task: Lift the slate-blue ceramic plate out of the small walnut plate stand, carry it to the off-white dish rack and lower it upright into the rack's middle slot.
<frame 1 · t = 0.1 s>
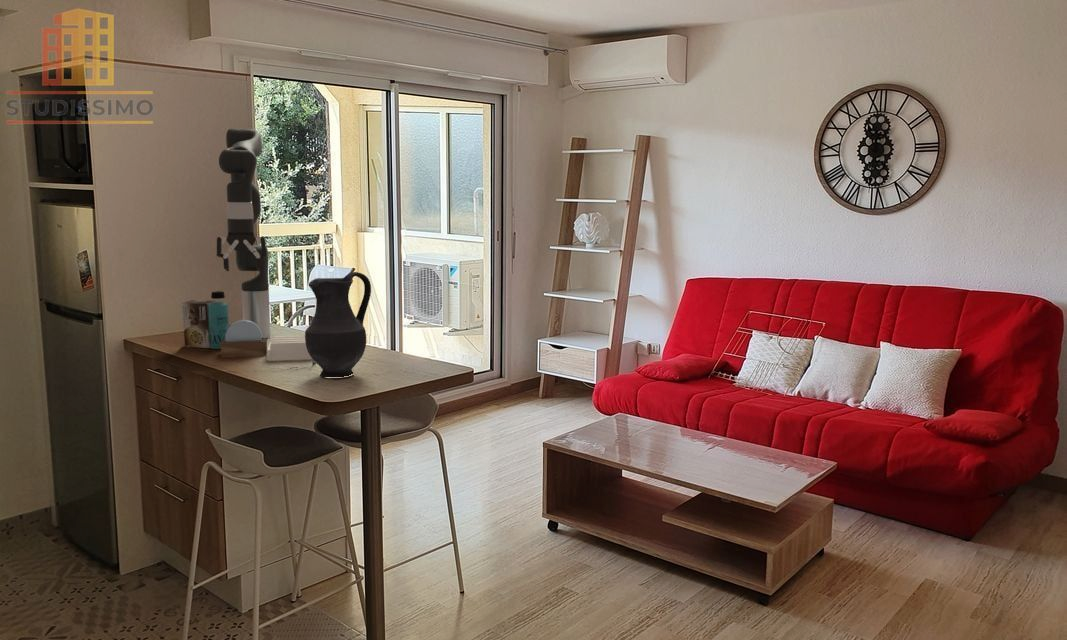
hand: (242, 270, 254), 29 cm above the breakfast bar, tool pointing down, fingers open, 8 cm apart
coffee box: (201, 349, 280), on the breakfast bar
plate: (244, 354, 267), point 1 cm above the breakfast bar, touching stand
stand: (244, 357, 267), on the breakfast bar
pitcher: (342, 375, 246), on the breakfast bar
rack: (292, 359, 266), on the breakfast bar
beverage bottle: (220, 351, 276), on the breakfast bar
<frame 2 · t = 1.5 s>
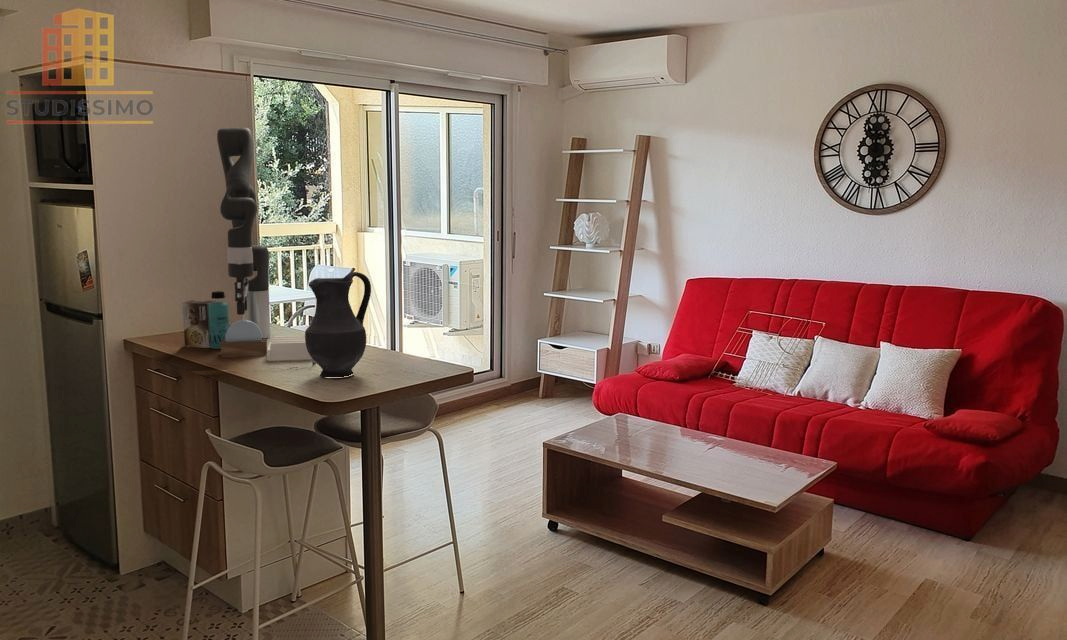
hand: (242, 312, 264), 15 cm above the breakfast bar, tool pointing down, fingers open, 8 cm apart
nothing on the breakfast bar moved.
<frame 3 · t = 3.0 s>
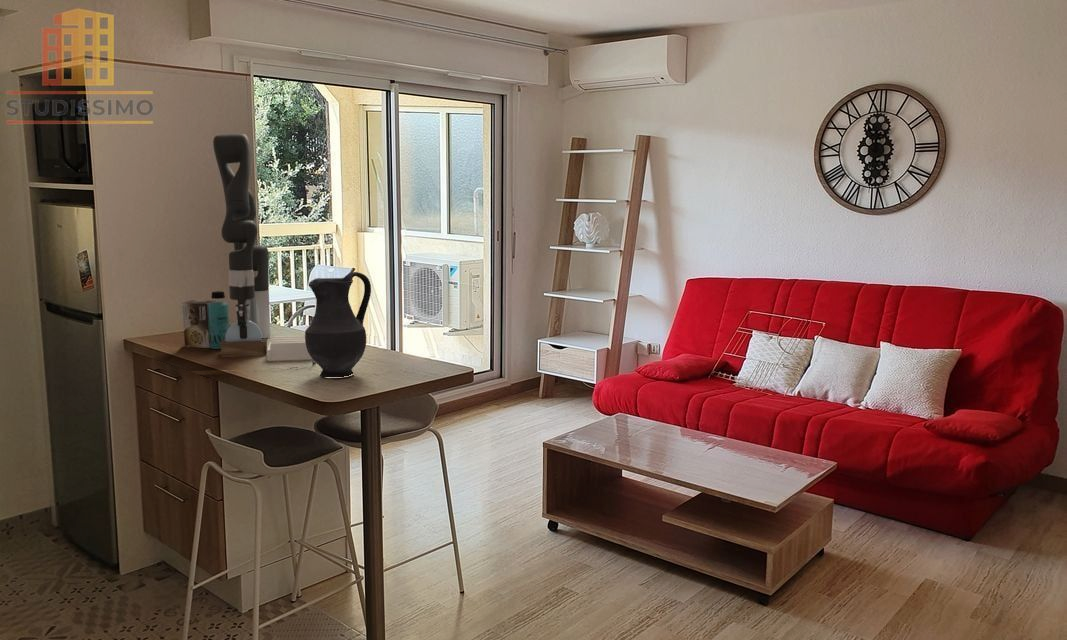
hand: (243, 337, 266), 7 cm above the breakfast bar, tool pointing down, fingers closed on plate, 1 cm apart
plate: (244, 354, 267), point 1 cm above the breakfast bar, touching gripper
everything else where it was.
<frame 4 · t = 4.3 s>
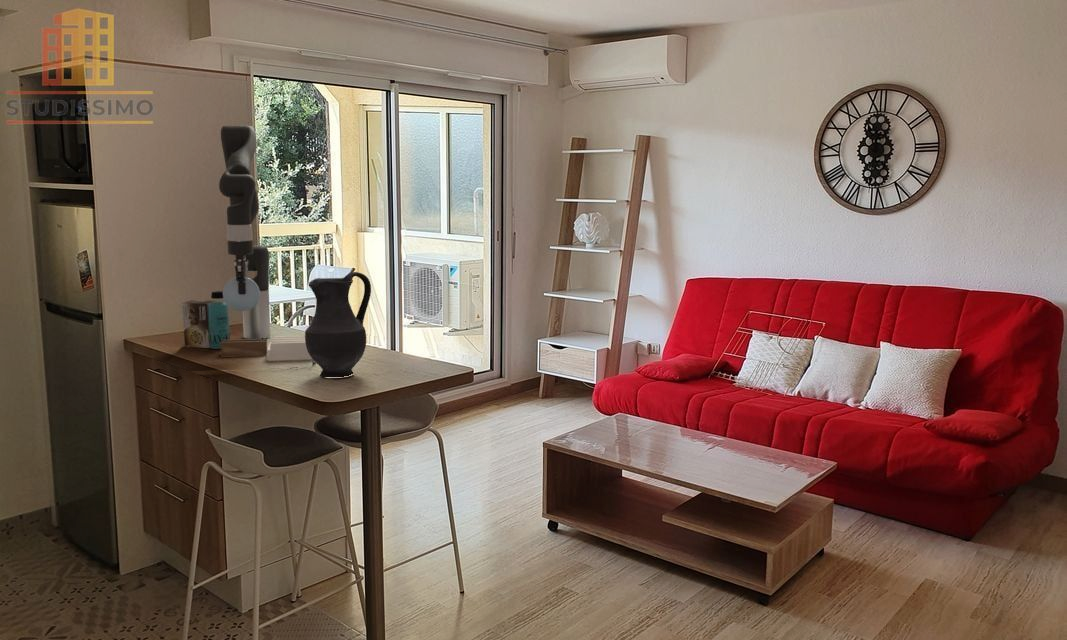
hand: (242, 293, 264), 21 cm above the breakfast bar, tool pointing down, fingers closed on plate, 1 cm apart
plate: (241, 311, 264), point 15 cm above the breakfast bar, touching gripper
everything else where it was.
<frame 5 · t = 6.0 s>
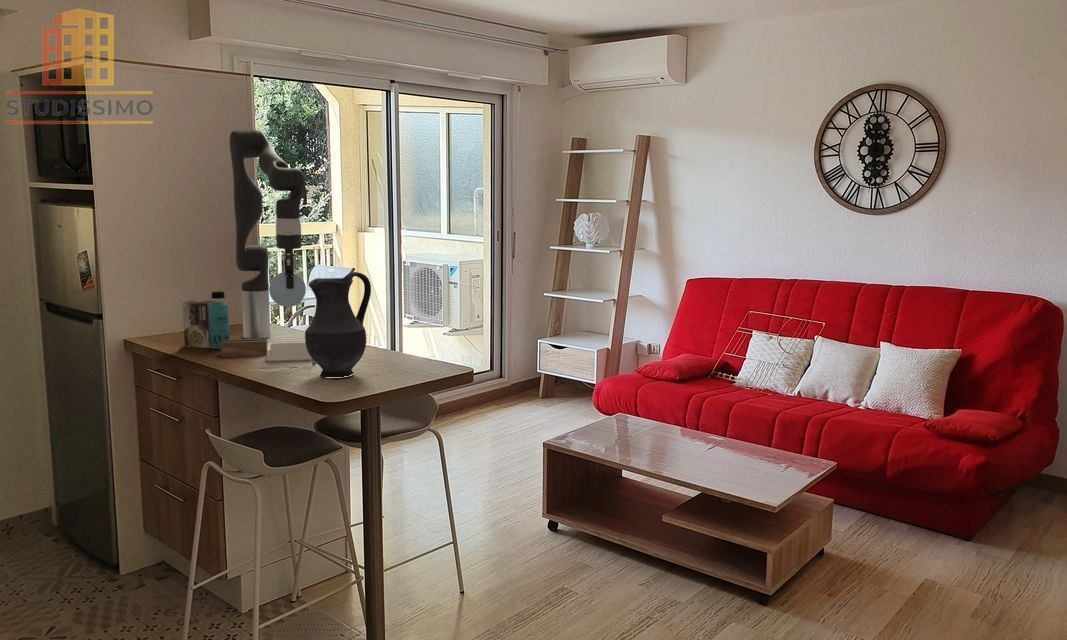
hand: (290, 288, 262), 23 cm above the breakfast bar, tool pointing down, fingers closed on plate, 1 cm apart
plate: (285, 306, 263), point 17 cm above the breakfast bar, tilted 7°, touching gripper
everything else where it was.
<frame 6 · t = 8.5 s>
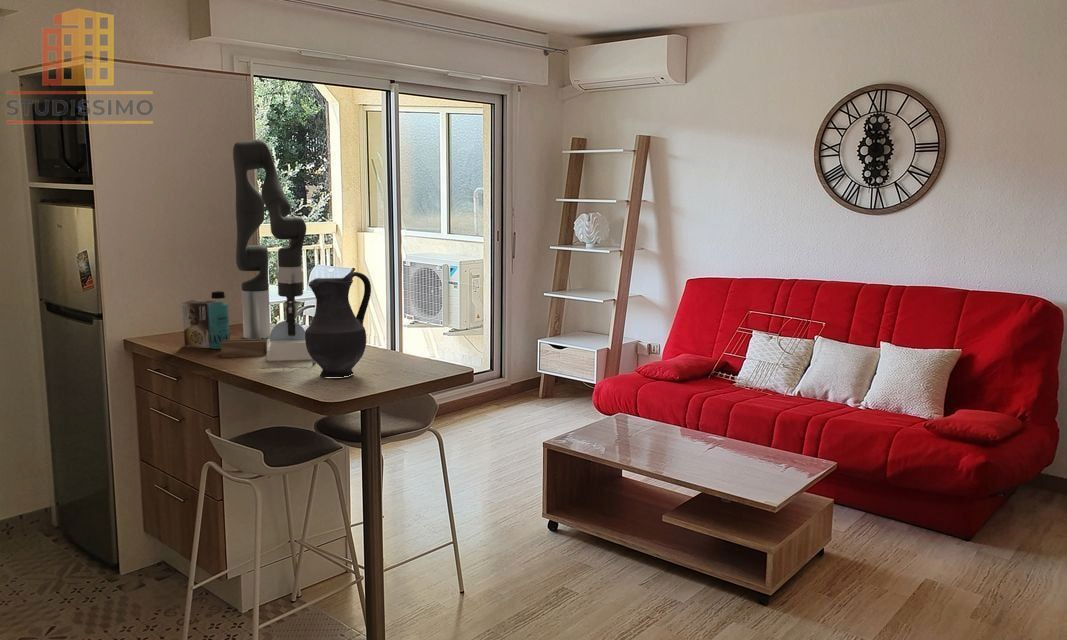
hand: (291, 334, 264), 8 cm above the breakfast bar, tool pointing down, fingers closed
plate: (284, 354, 265), point 2 cm above the breakfast bar, tilted 15°, touching rack
everything else where it was.
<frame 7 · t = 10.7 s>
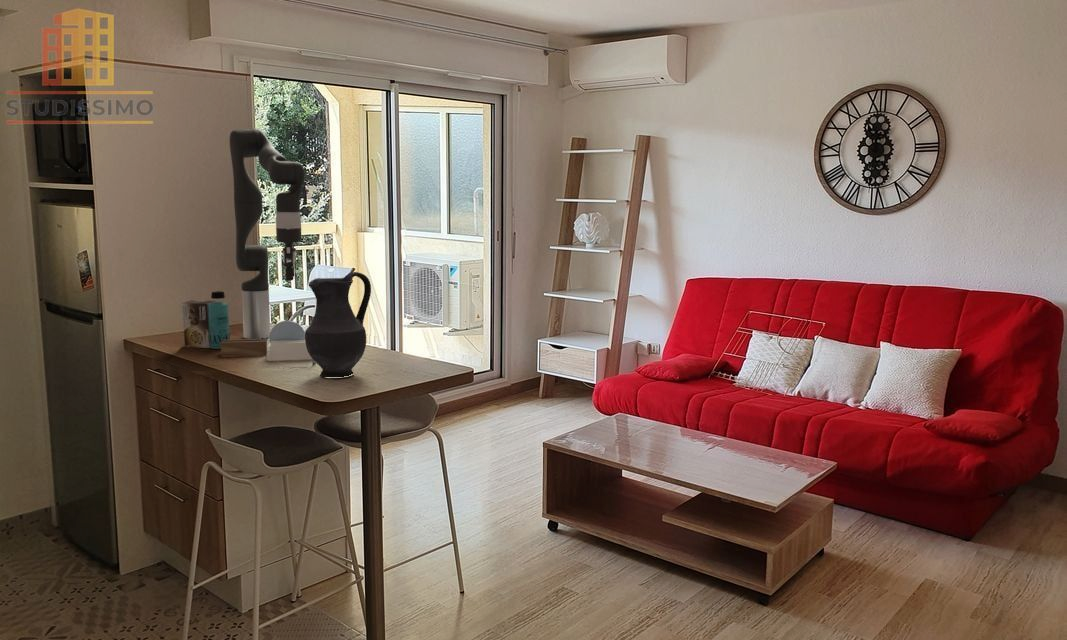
hand: (290, 278, 262), 26 cm above the breakfast bar, tool pointing down, fingers open, 8 cm apart
nothing on the breakfast bar moved.
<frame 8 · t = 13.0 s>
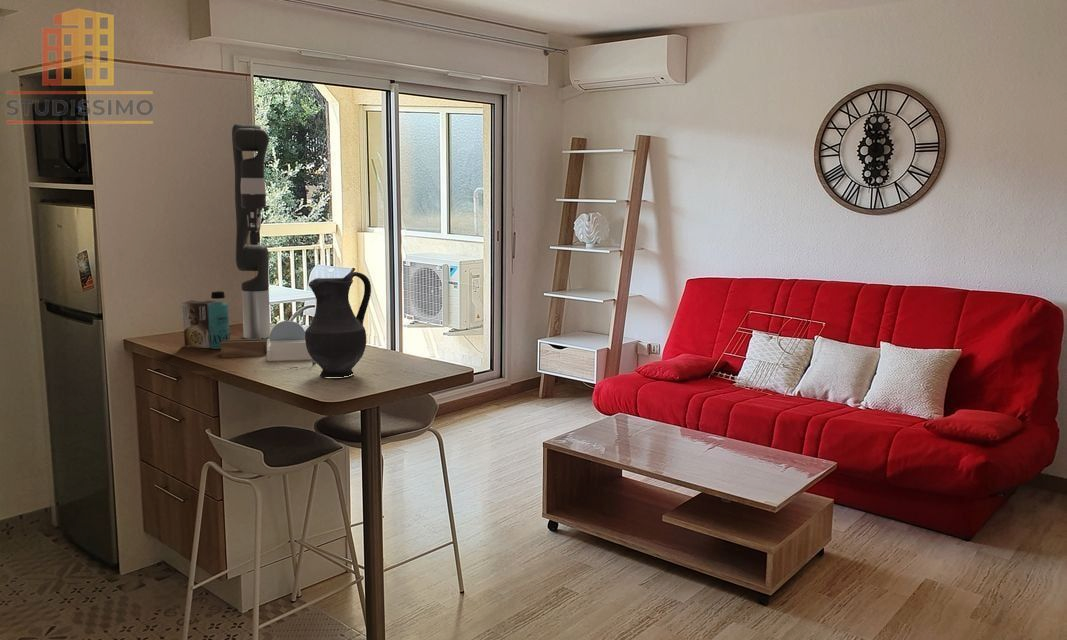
hand: (255, 243, 268), 36 cm above the breakfast bar, tool pointing down, fingers open, 8 cm apart
nothing on the breakfast bar moved.
at the end: plate 2.6 cm off-centre on the rack, point 1.7 cm above the rack's base; plate tilted 14°; the gripper is holding nothing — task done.
